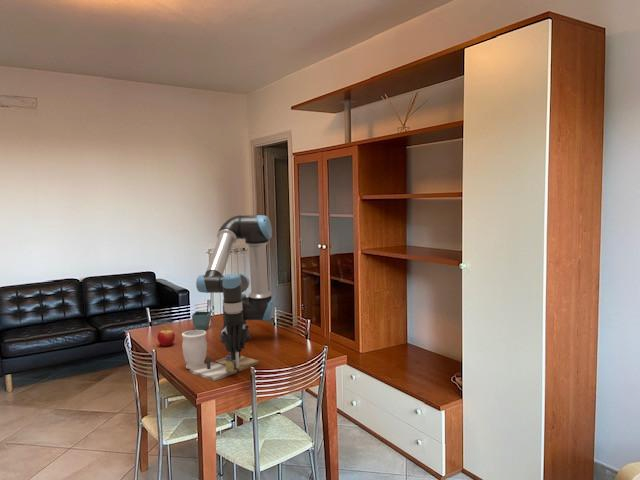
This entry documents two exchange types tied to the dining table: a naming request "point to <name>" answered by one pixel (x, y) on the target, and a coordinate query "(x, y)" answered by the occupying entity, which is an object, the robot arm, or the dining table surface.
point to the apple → (166, 337)
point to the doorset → (221, 368)
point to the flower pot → (201, 320)
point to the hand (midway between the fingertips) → (236, 366)
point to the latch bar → (229, 363)
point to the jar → (194, 348)
